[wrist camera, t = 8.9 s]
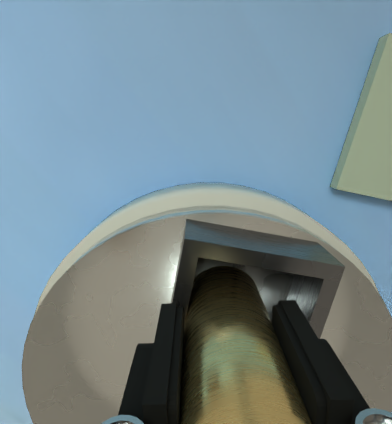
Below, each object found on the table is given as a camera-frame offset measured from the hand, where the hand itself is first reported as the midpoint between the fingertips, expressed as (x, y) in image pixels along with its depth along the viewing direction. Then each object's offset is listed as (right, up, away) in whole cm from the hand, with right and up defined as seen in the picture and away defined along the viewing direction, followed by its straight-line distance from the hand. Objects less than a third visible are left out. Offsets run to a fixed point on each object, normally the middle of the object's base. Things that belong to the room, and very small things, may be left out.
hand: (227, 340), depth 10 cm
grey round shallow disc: (0, -4, +6) cm, 7 cm away
